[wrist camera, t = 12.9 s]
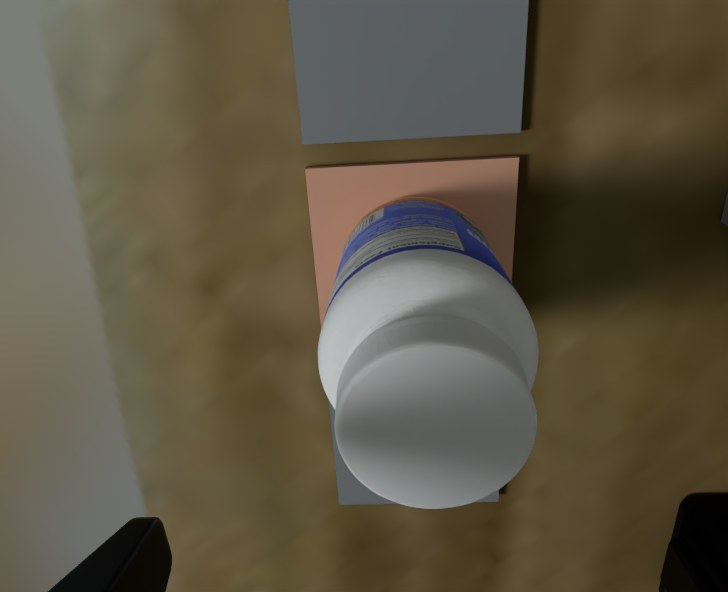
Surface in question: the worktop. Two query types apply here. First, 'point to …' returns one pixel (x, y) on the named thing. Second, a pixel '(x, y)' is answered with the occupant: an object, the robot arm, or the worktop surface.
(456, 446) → the pill bottle
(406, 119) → the game board
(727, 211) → the grey open box
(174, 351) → the worktop surface
